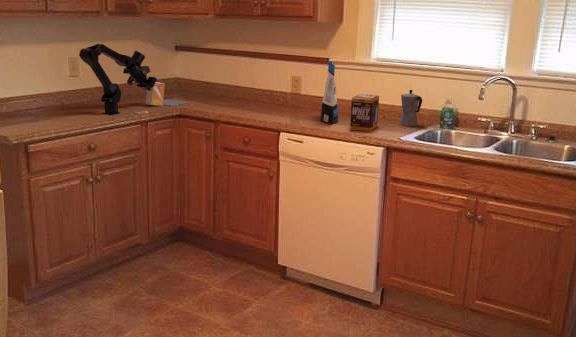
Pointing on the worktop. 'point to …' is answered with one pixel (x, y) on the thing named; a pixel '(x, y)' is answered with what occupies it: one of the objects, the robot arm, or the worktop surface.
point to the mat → (172, 102)
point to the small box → (155, 94)
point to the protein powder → (330, 98)
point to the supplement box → (364, 112)
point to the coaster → (141, 112)
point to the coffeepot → (410, 109)
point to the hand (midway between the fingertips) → (149, 90)
